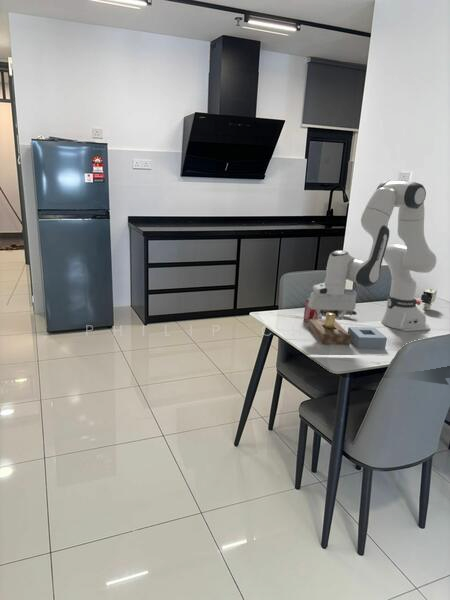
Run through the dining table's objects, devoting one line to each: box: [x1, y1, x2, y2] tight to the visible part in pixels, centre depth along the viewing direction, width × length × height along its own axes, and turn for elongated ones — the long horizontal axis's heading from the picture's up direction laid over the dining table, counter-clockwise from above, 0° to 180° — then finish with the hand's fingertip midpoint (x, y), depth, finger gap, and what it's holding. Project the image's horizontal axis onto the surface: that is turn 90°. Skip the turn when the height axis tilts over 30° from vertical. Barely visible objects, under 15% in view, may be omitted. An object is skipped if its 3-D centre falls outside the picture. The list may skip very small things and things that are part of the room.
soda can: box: [303, 296, 318, 324], centre depth 211 cm, size 7×7×12 cm
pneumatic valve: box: [420, 288, 438, 311], centre depth 244 cm, size 6×12×12 cm, turn 141°
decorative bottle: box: [319, 310, 358, 317], centre depth 227 cm, size 26×8×7 cm, turn 59°
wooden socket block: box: [307, 318, 351, 346], centre depth 194 cm, size 12×20×5 cm, turn 6°
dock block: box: [347, 326, 388, 350], centre depth 188 cm, size 12×12×6 cm
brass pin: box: [324, 313, 337, 329], centre depth 193 cm, size 4×4×10 cm
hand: (329, 319), depth 192 cm, fingers open, 8 cm apart
